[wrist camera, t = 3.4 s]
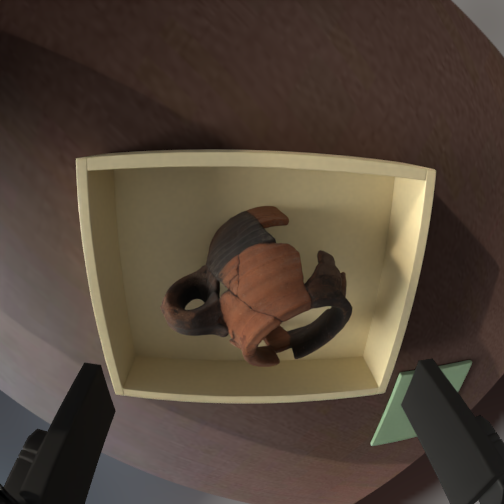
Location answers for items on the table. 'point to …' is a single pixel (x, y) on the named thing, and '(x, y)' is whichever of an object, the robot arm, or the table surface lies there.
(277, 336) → the pottery mug
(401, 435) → the mat
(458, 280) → the table surface
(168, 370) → the cream yellow tray
